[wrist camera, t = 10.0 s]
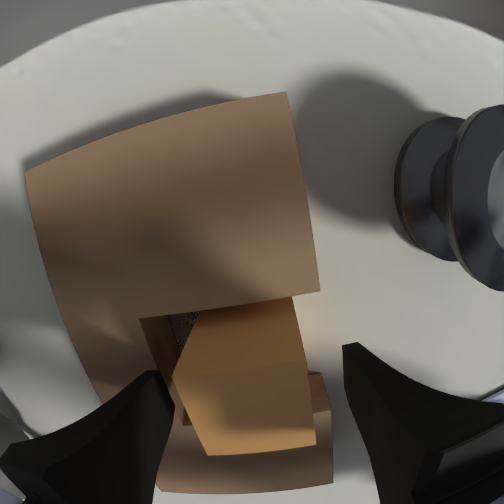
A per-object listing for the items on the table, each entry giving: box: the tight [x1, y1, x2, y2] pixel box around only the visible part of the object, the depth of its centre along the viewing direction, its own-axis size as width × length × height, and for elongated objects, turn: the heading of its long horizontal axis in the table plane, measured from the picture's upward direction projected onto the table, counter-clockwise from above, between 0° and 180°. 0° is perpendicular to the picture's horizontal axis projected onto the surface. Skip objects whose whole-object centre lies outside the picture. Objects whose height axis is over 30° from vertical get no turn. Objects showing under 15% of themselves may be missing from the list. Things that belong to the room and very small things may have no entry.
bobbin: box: [394, 105, 504, 292], centre depth 10 cm, size 7×7×5 cm
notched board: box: [24, 92, 333, 494], centre depth 13 cm, size 20×11×3 cm, turn 11°
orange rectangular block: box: [172, 296, 316, 456], centre depth 12 cm, size 4×4×6 cm
